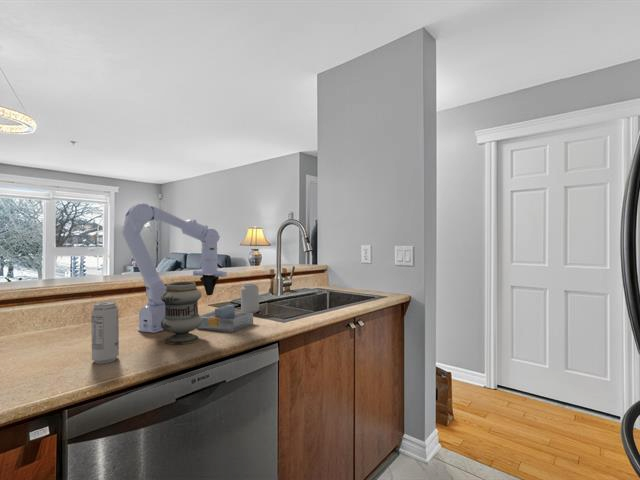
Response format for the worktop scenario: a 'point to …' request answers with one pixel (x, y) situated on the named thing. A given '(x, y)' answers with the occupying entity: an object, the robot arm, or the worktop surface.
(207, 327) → the rack
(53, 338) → the worktop surface
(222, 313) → the block
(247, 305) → the can
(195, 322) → the apothecary jar
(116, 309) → the energy drink can
